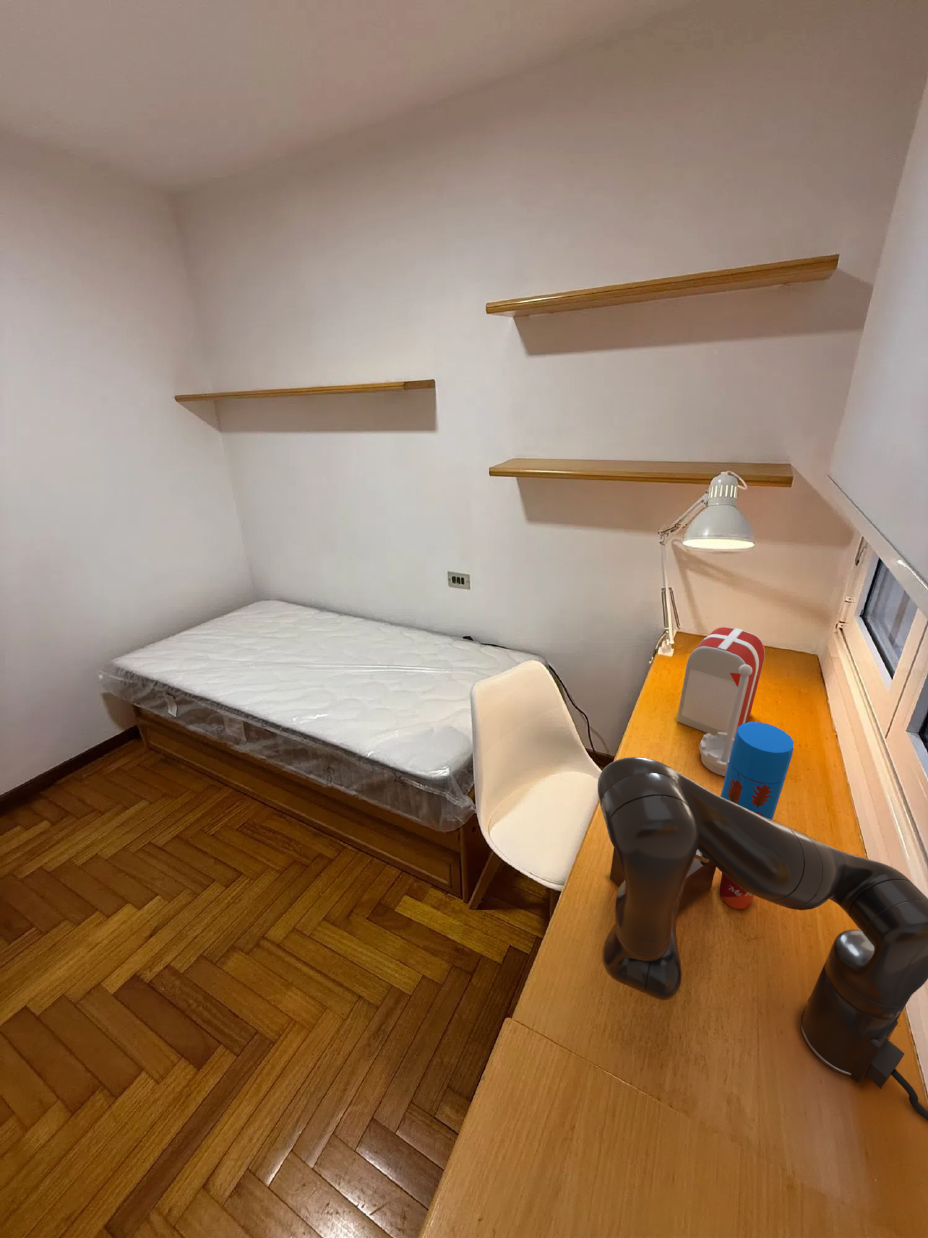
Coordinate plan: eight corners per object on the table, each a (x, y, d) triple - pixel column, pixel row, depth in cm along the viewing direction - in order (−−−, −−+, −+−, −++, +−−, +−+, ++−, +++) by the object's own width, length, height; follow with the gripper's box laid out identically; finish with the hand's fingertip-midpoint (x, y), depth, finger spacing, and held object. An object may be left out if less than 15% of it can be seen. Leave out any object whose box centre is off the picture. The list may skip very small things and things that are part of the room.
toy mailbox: (675, 720, 156) (689, 640, 144) (696, 695, 168) (710, 620, 156) (733, 743, 145) (753, 659, 134) (751, 714, 157) (771, 635, 146)
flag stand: (762, 776, 133) (790, 676, 121) (715, 783, 131) (739, 681, 119) (730, 745, 145) (753, 650, 132) (687, 750, 143) (706, 655, 131)
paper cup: (732, 919, 98) (747, 867, 92) (704, 884, 105) (717, 834, 99) (766, 908, 100) (783, 856, 94) (737, 875, 107) (751, 825, 101)
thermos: (774, 847, 113) (803, 756, 103) (721, 840, 115) (744, 750, 105) (759, 810, 123) (784, 724, 112) (710, 804, 125) (731, 719, 114)
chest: (659, 845, 114) (665, 815, 111) (711, 887, 104) (719, 856, 101) (609, 878, 107) (613, 847, 103) (659, 927, 97) (666, 895, 93)
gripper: (615, 871, 91) (634, 809, 104) (703, 905, 85) (712, 835, 97) (619, 840, 88) (639, 780, 101) (711, 873, 81) (719, 805, 94)
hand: (675, 807), depth 99 cm, fingers open, 8 cm apart
